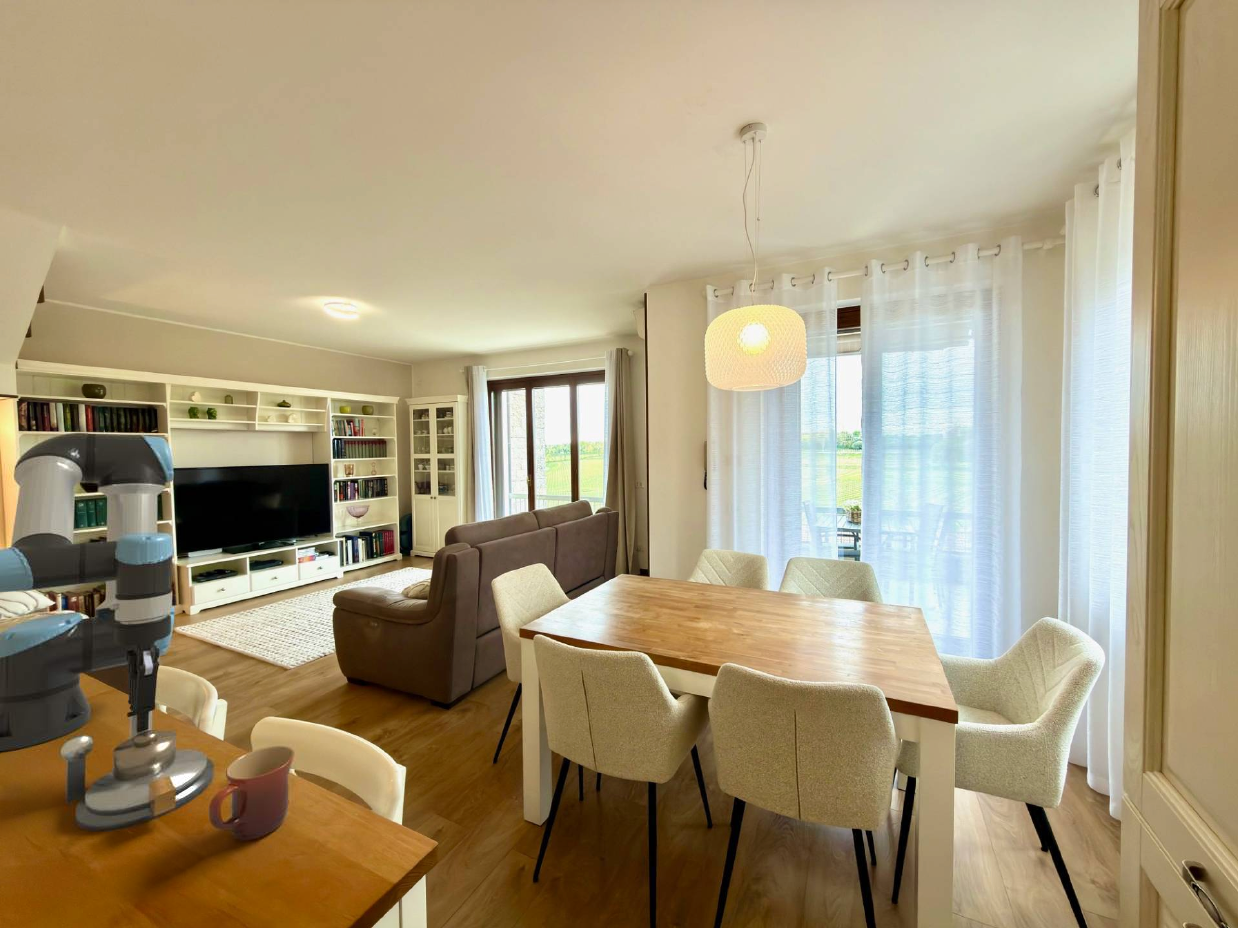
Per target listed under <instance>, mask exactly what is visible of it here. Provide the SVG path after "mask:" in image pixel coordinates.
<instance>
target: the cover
mask: <svg viewBox="0 0 1238 928" xmlns="http://www.w3.org/2000/svg"><path fill="white" fill-rule="evenodd" d="M176 750H177V733H176V732H175V731H173V730H157V729H152V730H148V731H144V732H141V733H139V734H137V735H136V736H135V737H134V738H132V739H130V738H129V739H127V740H125V741H124V742H123V741H122V742H121V743H120V744H118V745H117V746H116V747H115V748H114V749H113V752H112V753H113V754H112V755H113V756H112V757H113V758H112V771H113V777H114V778H115V779H119V780H128V779H135V778H139V777H143V776H146V775H149V774H152V773H155V772H157V771H159V770H161V769H163V768H165V767H167V766H168V765H169V764H171V763H172V762H173V761H174V760H175V758H176Z"/></svg>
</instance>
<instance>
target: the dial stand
mask: <svg viewBox="0 0 1238 928" xmlns="http://www.w3.org/2000/svg"><path fill="white" fill-rule="evenodd" d="M93 748H94V741H93V738H92V737H91V736H89V735H87V734H79V735H76V736H73V737H72V738H68V739H67V740H66V742H64V743H63V745H62V746H61V748H60V755H61V758H62V760H65V761H66V772H65V773H66V775H65V776H66V779H65V781H66V782H65V783H66V784H65V802H66V804H67V805H69V804H71V803H74V802H77V801H80V800H81V799H82V798H83V797H84V796H85V794H86V791H85V790H86V761H87V759H86V758H87V756H88V755H89V754H90V752H92V750H93Z"/></svg>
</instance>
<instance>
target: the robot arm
mask: <svg viewBox="0 0 1238 928" xmlns="http://www.w3.org/2000/svg"><path fill="white" fill-rule="evenodd" d="M170 448H171V447H170V445H169V443H168V442H167V441H166V439H164V438H162V437H160V436H151V435H150V436H149V435H143V434H138V435H137V434H114V433H113V434H112V433H109V434H108V433H88V432H74V433H73V432H72V433H65V434H61V435H56V436H53V437H49V438H48V439H45V440H43V441H41V442H39V443H37V444H35V445H33V446H32V447H31V448H28V450H27V451H25V452H24V453H23V454H22V455H21V456H20V458H19V459H18V460H17V462H16V464H15V465H14V472H13V479H14V481H15V483H16V484H17V485H18V486H19V489H18V496H17V504H16V509H15V516H14V523H13V529H12V530H13V531H12V537H11V543H10V547H7V548H0V593H7V592H28V591H29V592H30V591H33V590H42V589H49V588H51V589H52V588H57V587H58V588H59V587H67V586H68V587H69V586H74V585H83V584H84V585H85V584H92V583H93V584H94V583H101V582H102V583H103V582H104V583H105V600H104V601H103V602H102V603H100V604H99V605H97V607H96V608H95V616H94V617H93V616H92V617H86V618H83V615H82V614H81V613H80V612H77V611H75V612H68V613H67V612H66V613H65V612H63V613H58V614H51V615H48V616H47V615H46V616H43V617H39V618H34V619H31V620H27V621H25V622H20V623H19V624H16V625H13V626H11V627H8V628H7V629H5V630H3V631H2V632H0V752H5V751H12V750H18V749H23V748H27V747H31V746H36V745H40V744H42V743H45V742H49V741H52V740H55V739H57V738H60V737H63V736H65V735H67V734H70V733H72V732H74V731H76V730H78V729H80V728H82V727H83V726H85V725H86V724H87V723H88V722H89V721H90V720H91V716H92V715H91V714H92V713H91V711H92V709H91V705H90V703H89V701H88V699H87V697H86V695H85V694H84V692H83V689H82V687H81V684H80V682H81V681H80V680H81V677H80V676H81V674H84V673H89V672H90V673H91V672H94V671H99V670H105V669H110V668H114V667H118V666H125V665H127V673H128V700H127V703H128V705H129V710H130V711H129V712H126V716H127V718H130V720H129V739H132V738H134V737H135V736H136V735H137V734H139V733H141V732H144V731H148V730H153V711H155V709H156V697H157V683H158V682H157V681H158V674H159V667H160V662H159V661H158V659H159V657H162V656H163V655H165V653H166V652H167V650H168V649H169V646H170V643H171V640H172V635H173V631H174V625H175V624H174V623H175V612H176V611H175V610H176V609H175V606H174V605H173V588H172V578H173V577H172V576H173V556H174V553H175V548H174V546H173V537H172V536H173V535H172V534H170V533H167V532H158V495H160V494H161V493H162V492H163V491H164V490H166V484H168V483H172V481H173V480H174V476H175V475H174V463H173V456H172V452H171V449H170ZM80 483H85V484H86V483H87V484H88V483H89V484H90V483H91V484H92V483H93V484H97V491H98V492H100V493H101V494H102V495H104V496H105V497H106V499H107V500H106V501H107V502H106V503H107V504H106V505H107V506H106V511H107V512H106V513H107V514H106V541H99V542H98V541H97V542H81V543H74V530H75V528H74V526H75V525H74V524H75V497H76V496H75V495H76V494H75V493H76V487H77V486H78V485H80ZM89 719H90V720H89Z"/></svg>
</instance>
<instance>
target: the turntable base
mask: <svg viewBox="0 0 1238 928" xmlns="http://www.w3.org/2000/svg"><path fill="white" fill-rule="evenodd" d="M214 764H215V763H214V762H213V761H212V760H211V759H210V758H208V757H207V768H206V771H205V773H204V774H203V776H202V777H201V778H200V779H199V780H198V781H197V782H195V783H194V784H193V785H191V786H190V787H189V788H187V789H185V790H184V791H182V792H180V793H178V794H177V795H176V797H175V808H173V809H171V810H168V811H166V812H163V813H161V814H158V815H156V816H154V814H153V811H152V809H151V807H150V806H148V807H145V808H142V809H138V810H135V811H130V812H126V813H120V814H112V815H97V814H93V813H90V812H88V811H87V810H86V808H85V796H84V797H83V798H82V799H80V800H79V801H78V803H77V805H76V806H75V819H74V820H75V824H76V826H77V827H78V828H79V829H82V830H84V831H90V832H107V831H116V830H120V829H126V828H129V827H133V826H136V825H140V824H143V823H146V822H150V821H152V820H155V819H157V818H160V817H162V816H165V815H166V814H169V813H172V812H173V811H175V810H177V809H180V807H182V806H184V805H186V804H188V803H189V802H190V801H192V800H194V799H196V797H198V796H199V795H200V794H201V793H203V792H204V791H205V790H206V789H207V788H208V787H209V785H210V784H211V783H212V781H213V779H214V776H215V775H214V774H215V773H214V770H215V767H214Z"/></svg>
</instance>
